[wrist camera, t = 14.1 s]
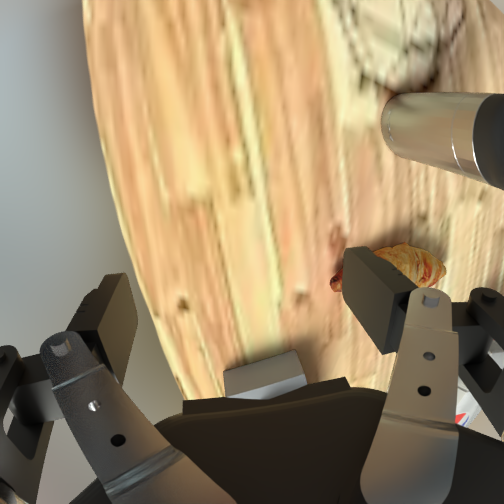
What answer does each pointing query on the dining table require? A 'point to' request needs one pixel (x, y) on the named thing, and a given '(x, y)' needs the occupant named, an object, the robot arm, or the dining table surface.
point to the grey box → (265, 377)
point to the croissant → (406, 265)
